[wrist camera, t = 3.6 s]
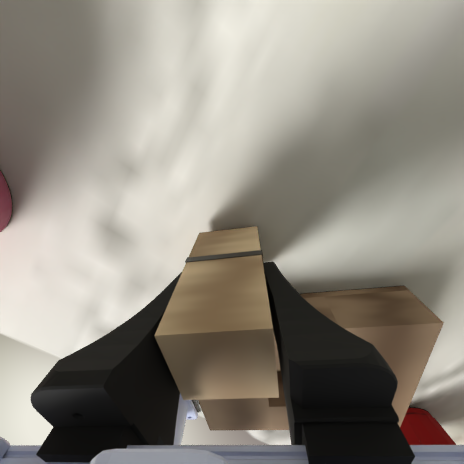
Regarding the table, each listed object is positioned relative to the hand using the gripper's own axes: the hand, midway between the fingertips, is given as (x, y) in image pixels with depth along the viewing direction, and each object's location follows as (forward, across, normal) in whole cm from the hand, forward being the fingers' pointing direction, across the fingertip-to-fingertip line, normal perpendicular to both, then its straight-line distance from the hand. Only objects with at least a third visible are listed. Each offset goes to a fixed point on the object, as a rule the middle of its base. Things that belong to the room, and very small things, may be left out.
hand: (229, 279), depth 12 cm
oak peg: (+3, 0, 0) cm, 3 cm away
